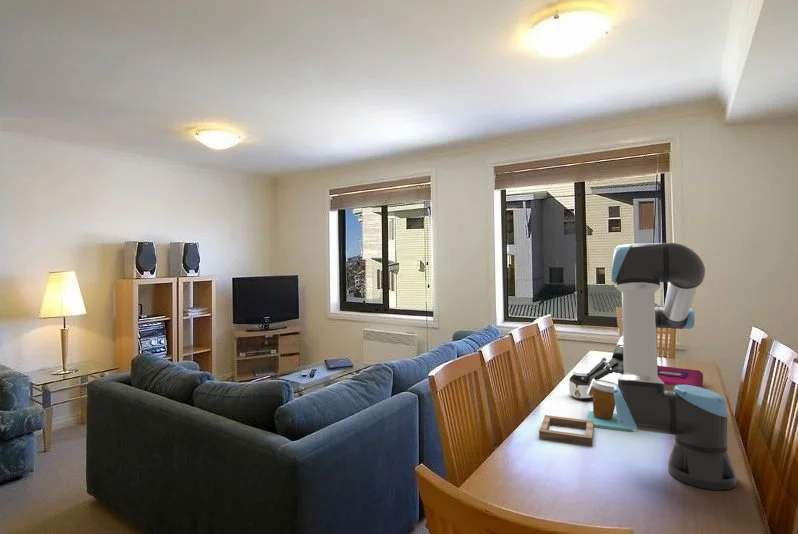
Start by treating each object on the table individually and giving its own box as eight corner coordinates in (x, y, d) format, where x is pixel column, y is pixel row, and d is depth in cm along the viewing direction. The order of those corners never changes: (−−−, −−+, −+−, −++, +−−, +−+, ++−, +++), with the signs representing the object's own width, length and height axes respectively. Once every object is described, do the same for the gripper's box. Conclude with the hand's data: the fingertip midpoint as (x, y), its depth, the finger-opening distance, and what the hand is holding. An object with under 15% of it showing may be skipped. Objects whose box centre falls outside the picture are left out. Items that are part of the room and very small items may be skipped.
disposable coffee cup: (608, 412, 166) (612, 380, 165) (622, 421, 156) (626, 388, 156) (583, 410, 165) (587, 378, 165) (595, 419, 156) (599, 385, 156)
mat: (632, 431, 149) (632, 428, 149) (587, 426, 155) (587, 423, 155) (630, 418, 162) (630, 415, 162) (588, 413, 168) (588, 410, 168)
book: (703, 386, 200) (703, 369, 200) (695, 402, 179) (695, 383, 179) (650, 379, 214) (650, 363, 213) (638, 393, 192) (637, 375, 192)
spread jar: (566, 396, 189) (566, 369, 189) (587, 392, 193) (586, 366, 193) (587, 404, 178) (587, 375, 177) (609, 400, 182) (608, 372, 181)
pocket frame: (592, 446, 139) (592, 438, 139) (539, 438, 145) (539, 430, 145) (593, 428, 153) (593, 420, 153) (545, 421, 160) (545, 415, 160)
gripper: (665, 363, 159) (647, 414, 150) (597, 352, 178) (578, 397, 169) (658, 350, 155) (640, 402, 146) (590, 341, 175) (570, 386, 166)
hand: (607, 399), depth 158 cm, fingers open, 13 cm apart
